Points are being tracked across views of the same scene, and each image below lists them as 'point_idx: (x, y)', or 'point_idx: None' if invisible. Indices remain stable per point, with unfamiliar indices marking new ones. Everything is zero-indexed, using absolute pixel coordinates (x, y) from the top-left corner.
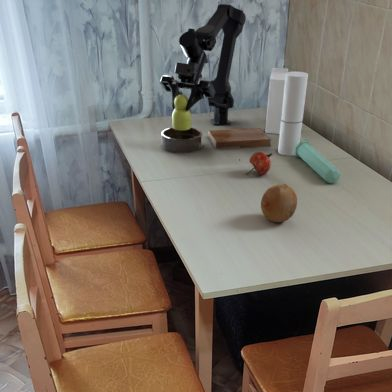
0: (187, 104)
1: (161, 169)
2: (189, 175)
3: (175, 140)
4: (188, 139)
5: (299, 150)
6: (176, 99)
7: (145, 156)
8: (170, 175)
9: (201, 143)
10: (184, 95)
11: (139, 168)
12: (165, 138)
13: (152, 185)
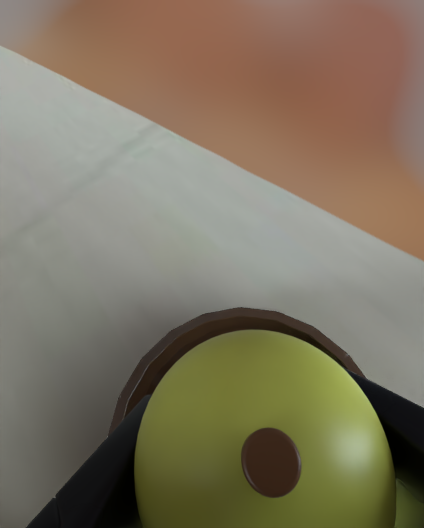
0: (130, 429)
1: (164, 196)
2: (60, 210)
3: (204, 316)
4: (141, 359)
5: None
6: (280, 335)
7: (293, 245)
8: (114, 181)
9: None
10: (201, 500)
11: (228, 167)
12: (272, 313)
13: (124, 121)
